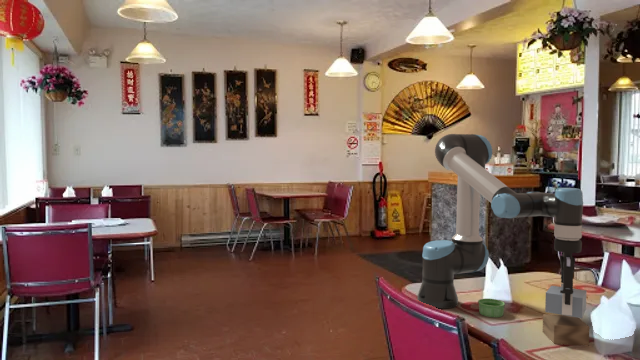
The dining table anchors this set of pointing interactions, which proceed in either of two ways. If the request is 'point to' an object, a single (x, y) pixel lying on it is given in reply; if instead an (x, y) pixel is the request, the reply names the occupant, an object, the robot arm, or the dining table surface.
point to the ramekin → (491, 307)
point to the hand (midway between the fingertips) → (566, 309)
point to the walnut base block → (565, 330)
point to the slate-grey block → (555, 301)
